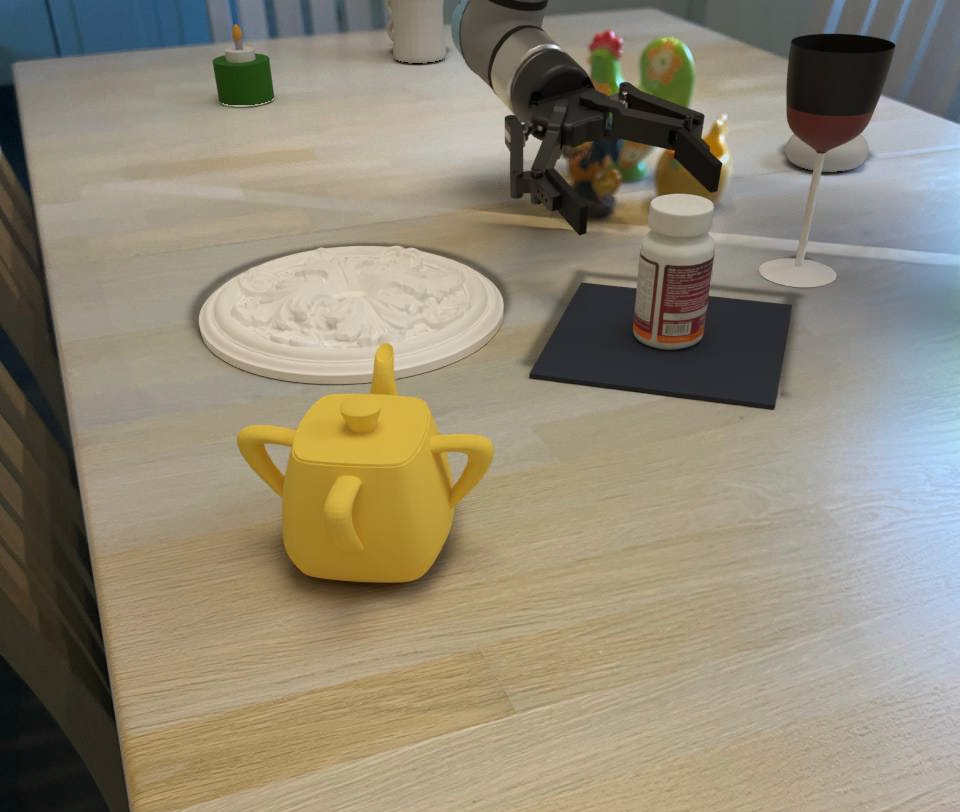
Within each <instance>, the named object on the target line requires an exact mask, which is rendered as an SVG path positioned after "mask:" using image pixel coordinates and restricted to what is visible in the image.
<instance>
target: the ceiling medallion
mask: <svg viewBox="0 0 960 812" xmlns="http://www.w3.org/2000/svg"><path fill="white" fill-rule="evenodd" d="M504 305H505V304H504V299H503V295H502V293H501V291H500V290H499V289H498V287H497V286H496V285H495V283H494V282H492V281H491V280H490V279H489V278H488V277H486V276H485V275H484V274H482V273H480V272H478V271H477V270H475V269H473V268H472V267H470V266H468V265H465V264H463V263H461V262H459V261H456V260H454V259H450V258H448V257H444V256H441V255H438V254H434V253H431V252H428V251H423V250H419V249H417V248H415V247H408V248H404V247H403V246H401V245H392V246H381V245H351V246H336V247H326V248H325V247H318V248H316V249H311V250H306V251H302V252H301V251H300V252H296V253H293V254H289V255H285V256H282V257H281V256H280V257H278V258H275V259H272V260H269V261H266V262H264V263H261V264H259V265H256V266H254V267H251V268H249V269H248V270H246V271H243V272H242V273H239V274H238V275H236V276H234V277H232V278H231V279H229V280H228V281H227V282H225V283H224V284H222V285H221V286H220V287H218V289H216V290H215V291H213V292H212V294H211V295H210V296H209V297H208V298H207V299H206V300H205V301H204V303H203V305H202V306H201V309H200V311H199V314H198V315H199V316H198V325H199V330H200V335H201V339H202V340H203V343H204V344H205V346H206V347H207V348H208V349H209V350H210V351H211V352H212V353H213V354H214V355H215V356H216V357H217V358H219V359H220V360H222V361H224V362H226V363H227V364H229V365H231V366H233V367H235V368H238V369H240V370H243V371H244V372H248V373H251V374H254V375H258V376H261V377H264V378H270V379H274V380H280V381H286V382H293V383H294V382H295V383H302V384H313V385H353V384H355V385H356V384H366V383H372V378H373V370H374V360H375V354H376V351H377V349H378V348H379V346H380V345H382V344H384V343H389V344H391V345H392V347H393V350H394V376H395V380H397V379H403V378H408V377H413V376H417V375H421V374H424V373H428V372H432V371H435V370H438V369H441V368H444V367H447V366H448V365H451V364H453V363H456V362H458V361H461V360H463V359H465V358H467V357H468V356H470V355H472V354H474V353H475V352H477V351H478V350H480V349H481V348H483V347H484V346H485V345H487V344H488V343H489V342H490V341H491V340H492V339H493V338H494V337H495V335H496V334H497V333H498V331H499V330H500V328H501V326H502V324H503V321H504V311H505V309H504V308H505V306H504Z"/></svg>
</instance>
